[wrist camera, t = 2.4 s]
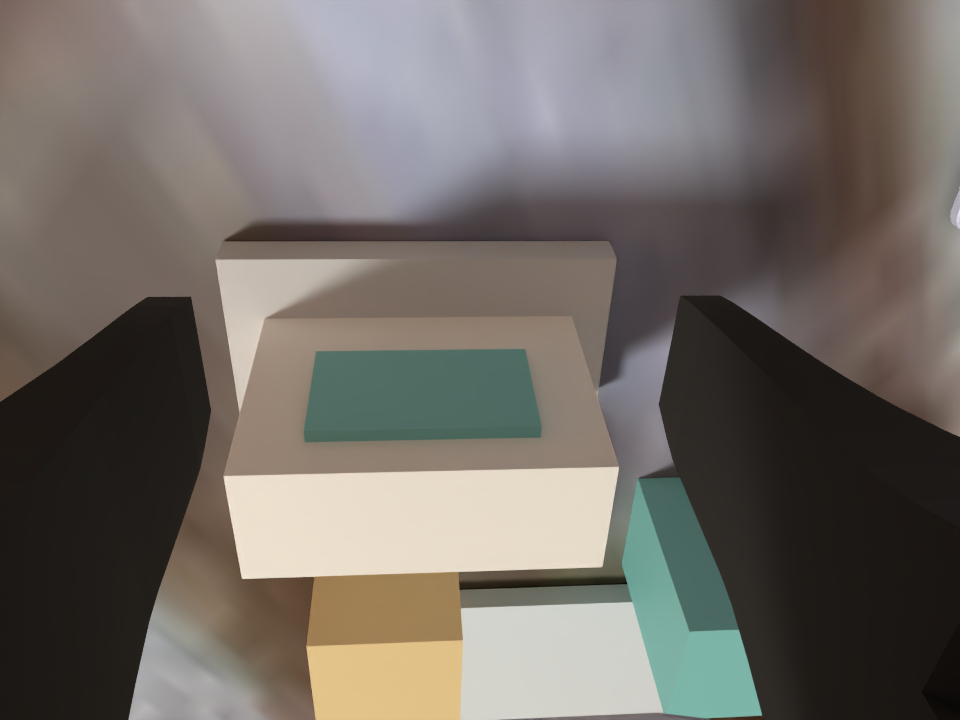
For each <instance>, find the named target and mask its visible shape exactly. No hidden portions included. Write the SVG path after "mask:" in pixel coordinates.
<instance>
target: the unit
mask: <svg viewBox="0 0 960 720" xmlns="http://www.w3.org/2000/svg"><path fill="white" fill-rule="evenodd" d="M616 261H617V258H616V255H615V253H614V251H613V249H612V246H611V244H610V242H609V241H223V242H222V245H221V247H220V250H219V252H218V255H217V257H216V265H217V272H218V278H219V284H220V291H221V297H222V304H223V310H224V316H225V323H226V329H227V335H228V342H229V348H230V354H231V361H232V367H233V373H234V380H235V386H236V393H237V399H238V405H239V412H240V415H239V419H238V422H237V426H236V430H235V434H234V438H233V442H232V445H231V449H230V453H229V457H228V461H227V465H226V468H225V472H224V482H225V487H226V493H227V498H228V504H229V509H230V515H231V520H232V526H233V532H234V537H235V543H236V548H237V554H238V559H239V565H240V570H241V576H242V579H254V578H284V577H315V576H345V575H376V574H406V573H437V572H467V571H498V570H528V569H559V568H589V567H602V566H603V560H604V554H605V548H606V542H607V536H608V530H609V524H610V518H611V512H612V506H613V500H614V494H615V489H616V483H617V477H618V471H619V465H618V462H617V458H616V455H615V452H614V449H613V446H612V443H611V439H610V436H609V433H608V430H607V427H606V423H605V420H604V417H603V414H602V411H601V408H600V404H599V401H598V398H597V396H598V389H599V382H600V375H601V368H602V361H603V354H604V347H605V339H606V332H607V325H608V318H609V311H610V304H611V297H612V290H613V283H614V276H615V269H616Z"/></svg>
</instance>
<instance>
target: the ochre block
mask: <svg viewBox="0 0 960 720" xmlns="http://www.w3.org/2000/svg"><path fill="white" fill-rule="evenodd" d="M462 652H463V634H462V619H461V604H460V590H459V575H458V572H437V573H406V574H376V575H345V576H315V577H314V586H313V594H312V603H311V612H310V621H309V629H308V638H307V654H308V662H309V670H310V678H311V686H312V693H313V701H314V709H315V717H316V720H460V707H461V679H462Z"/></svg>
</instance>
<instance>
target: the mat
mask: <svg viewBox="0 0 960 720" xmlns="http://www.w3.org/2000/svg"><path fill="white" fill-rule="evenodd" d="M460 604H461V619H462V634H463V652H462V679H461V707H460V720H501V719H524V718H547V717H570V716H592V715H615V714H638V713H663V709H662V706H661V702H660V699H659V695H658V692H657V688H656V684H655V681H654V677H653V674H652V670H651V667H650V663H649V659H648V656H647V652H646V649H645V645H644V642H643V638H642V634H641V631H640V627H639V624H638V620H637V616H636V613H635V609H634V606H633V602H632V599H631V595H630V591H629V588H628V584H617V585H588V586H559V587H530V588H502V589H473V590H460Z"/></svg>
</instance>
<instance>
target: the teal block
mask: <svg viewBox="0 0 960 720" xmlns="http://www.w3.org/2000/svg"><path fill="white" fill-rule="evenodd" d="M622 566H623V570H624V574H625V577H626V581H627V584H628V588H629V591H630V595H631V599H632V602H633V606H634V609H635V613H636V616H637V620H638V624H639V627H640V631H641V634H642V638H643V642H644V645H645V649H646V652H647V656H648V659H649V663H650V667H651V670H652V674H653V677H654V681H655V684H656V688H657V692H658V695H659V699H660V702H661V706H662V709H663V713H665V714H674V715H682V716H690V717H698V718H722V717H743V716H762V713H761V709H760V705H759V701H758V697H757V694H756V690H755V686H754V682H753V679H752V675H751V671H750V667H749V663H748V660H747V656H746V653H745V649H744V646H743V642H742V639H741V636H740V632H739V629H738V625H737V622H736V618H735V615H734V612H733V608H732V605H731V602H730V599H729V596H728V593H727V591H726V588H725V585H724V582H723V580H722V577H721V574H720V572H719V570H718V567H717V565H716V563H715V560H714V558H713V555H712V553H711V551H710V548H709V546H708V544H707V541H706V539H705V536H704V534H703V532H702V529H701V527H700V525H699V522H698V520H697V518H696V515H695V513H694V510H693V508H692V506H691V503H690V501H689V499H688V496H687V494H686V491H685V489H684V486H683V484H682V481H681V479H680V477H676V478H638V480H637V486H636V491H635V496H634V502H633V507H632V512H631V518H630V523H629V528H628V534H627V539H626V544H625V550H624V555H623V560H622Z"/></svg>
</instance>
